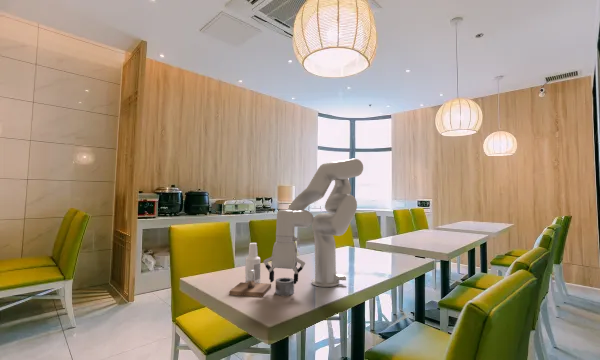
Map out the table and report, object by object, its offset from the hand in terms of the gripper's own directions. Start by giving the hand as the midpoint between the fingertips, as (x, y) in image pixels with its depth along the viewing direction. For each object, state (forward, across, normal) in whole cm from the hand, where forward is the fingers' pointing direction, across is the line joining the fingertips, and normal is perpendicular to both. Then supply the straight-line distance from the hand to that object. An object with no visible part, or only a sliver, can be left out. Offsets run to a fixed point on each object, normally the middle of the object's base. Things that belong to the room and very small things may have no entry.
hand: (283, 282), depth 114 cm
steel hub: (+4, 0, -1) cm, 4 cm away
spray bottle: (+5, +17, -12) cm, 21 cm away
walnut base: (+5, +14, -1) cm, 15 cm away
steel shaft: (+3, +14, -1) cm, 14 cm away
